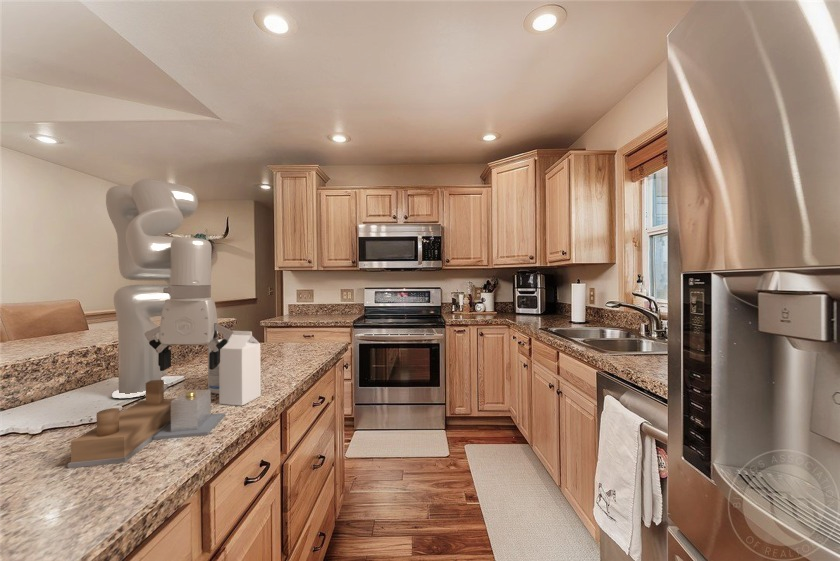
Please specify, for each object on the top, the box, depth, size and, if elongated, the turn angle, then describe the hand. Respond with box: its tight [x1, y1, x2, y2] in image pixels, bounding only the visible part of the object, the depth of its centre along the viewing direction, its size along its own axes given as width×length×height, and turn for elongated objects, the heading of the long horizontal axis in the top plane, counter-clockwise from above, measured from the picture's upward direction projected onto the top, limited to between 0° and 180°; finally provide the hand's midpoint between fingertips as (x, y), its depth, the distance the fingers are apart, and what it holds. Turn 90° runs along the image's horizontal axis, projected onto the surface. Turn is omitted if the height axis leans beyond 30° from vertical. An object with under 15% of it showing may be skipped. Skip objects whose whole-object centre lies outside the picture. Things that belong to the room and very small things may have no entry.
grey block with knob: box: [171, 389, 212, 432], centre depth 73 cm, size 7×5×7 cm
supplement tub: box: [207, 338, 223, 395], centre depth 98 cm, size 10×10×15 cm
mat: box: [152, 412, 226, 441], centre depth 73 cm, size 10×10×1 cm
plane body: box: [67, 379, 177, 469], centre depth 68 cm, size 21×9×10 cm, turn 13°
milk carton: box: [218, 330, 262, 406], centre depth 88 cm, size 7×7×19 cm
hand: (190, 368), depth 73 cm, fingers open, 9 cm apart
